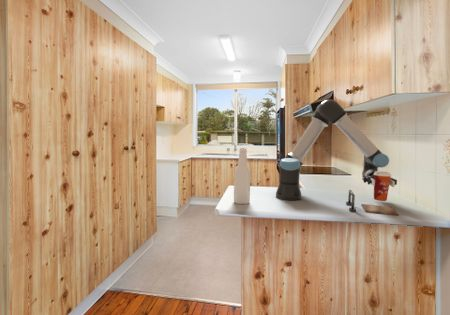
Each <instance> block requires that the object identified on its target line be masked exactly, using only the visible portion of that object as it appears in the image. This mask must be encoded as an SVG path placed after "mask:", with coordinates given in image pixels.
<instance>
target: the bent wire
mask: <svg viewBox="0 0 450 315" xmlns="http://www.w3.org/2000/svg"><path fill="white" fill-rule="evenodd" d="M355 197H356V196H355V194H354V192H353V191H352V190H351V189H348V197H347V198H348V200H347V201H345V205H346V206H350V207H348V211H349V212H352V213H357V209H356V207H355Z"/></svg>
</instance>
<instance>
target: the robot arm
mask: <svg viewBox="0 0 450 315" xmlns="http://www.w3.org/2000/svg"><path fill="white" fill-rule="evenodd" d="M330 124H332V125H334V126H336V127H337V128H338V129H339V130H340V131H341V132H342V133H343V135H345V137H347V139H348V140H349V141H350V142H351V143H352V144H353V145H354V146H355V147H356V148H357V149H358V150H359V151H360V152H361V153H362V154H363V169H362V172H361V174H362V176H361V177H362V179H361V180H362V181H363V183H365V184H366V183H367V185H372V186H373V187H374V186H375V180H374V173H375V172H376V171H378V168H385V167H387V166H388V165H389V164H390V157H389V156H388V155H387V154H385V153H383V152H381V150H380V149H379V148H378V147H377V146H376V145H375V144H374V143H373V142H372V140H371V139H369V138H368V136H367V135H366V134H365V132H363V131H362V130H361V129H360V128H359V126H357V125H356V124H355V122H354V121H353V120H352V119H351V118H350V117H349V116H348V112H347V111H346V110H345V109H344V107H342V106H341V104H339V102H337V101H336V100H334V99H328V98H327V99H325V100H323V101H322V102H321V103H320V104H318V105H317V107H316V108H315V111H314V113H312V115H311V122H310V123H309V124H308V126H307V127H306V129H305V130H304V132H303V133H302V135H301V137H300V139H298V142H297V143H296V144H295V146H294V148H293V149H292V150H291V152H288V153H287V154H286V156H285V157H284V158H281V159H280V161H279V180H278V182H279V184H278V186H277V189H276V192H275V197H276V198H278V199H279V200H280V199H281V200H284V201H299V200H302V191H301V189H300V188H301V187H300V174H301V173H300V169H301V167H302V166H303V164H304V158H305V157H306V155H307V154H308V153H309V151H310V149H311V148H312V146H313V145H314V143H315V142H316V141H317V139H318V138H319V136H320V134H321V133H322V131H323V130H324V128H327V127H329V125H330ZM397 183H398V180H397V179H395V178H393V177H392V176H391V177H390V183H389V187H390V186H391V187H392V188H395V186H396V185H397Z"/></svg>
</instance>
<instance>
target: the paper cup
mask: <svg viewBox="0 0 450 315" xmlns="http://www.w3.org/2000/svg"><path fill="white" fill-rule="evenodd" d="M390 177H391V178H392V174H391V172H388V171H376V172H375V173H374V180H375V186H373V199H374V201H378V202H386V201H387V200H388V194H389V190H390V185H389V183H390Z"/></svg>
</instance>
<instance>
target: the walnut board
mask: <svg viewBox="0 0 450 315" xmlns="http://www.w3.org/2000/svg"><path fill="white" fill-rule="evenodd" d="M360 207H362V209H363V211H364V212H365V213H369V214H370V213H371V214H379V215H389V216H399V214H400V213H399V212H397V210H395V209H394V208H393V207H392V206H389V205H388V206H386V205H379V204H378V205H377V204H376V205H375V204H366V203H361V205H360Z"/></svg>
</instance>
